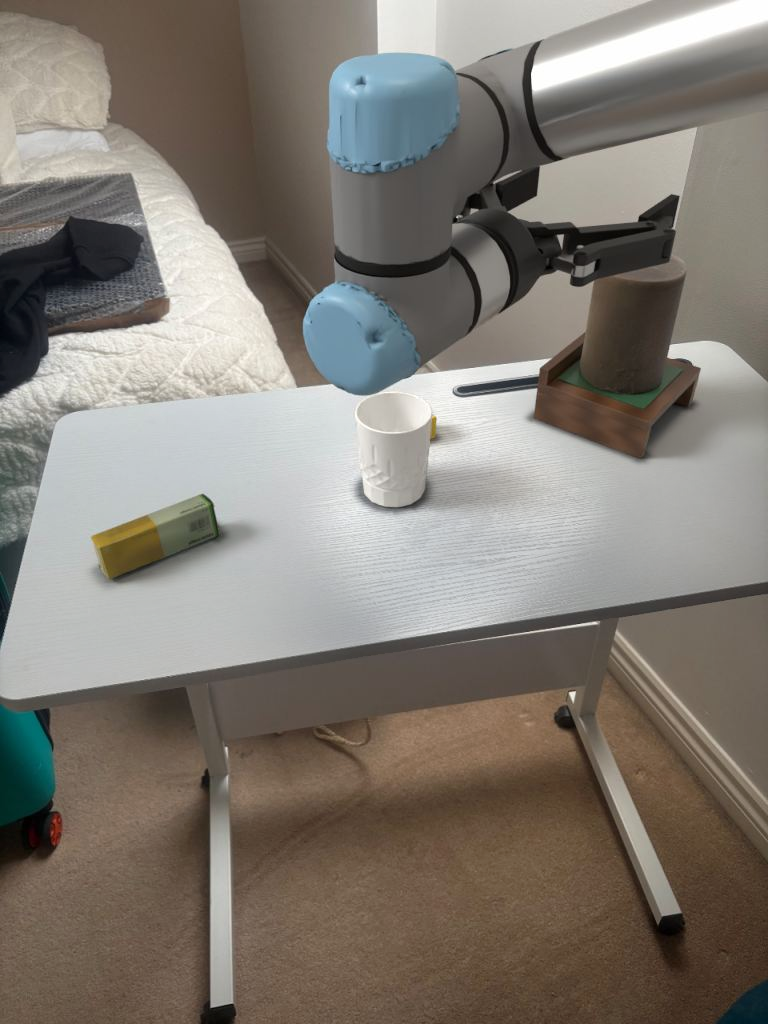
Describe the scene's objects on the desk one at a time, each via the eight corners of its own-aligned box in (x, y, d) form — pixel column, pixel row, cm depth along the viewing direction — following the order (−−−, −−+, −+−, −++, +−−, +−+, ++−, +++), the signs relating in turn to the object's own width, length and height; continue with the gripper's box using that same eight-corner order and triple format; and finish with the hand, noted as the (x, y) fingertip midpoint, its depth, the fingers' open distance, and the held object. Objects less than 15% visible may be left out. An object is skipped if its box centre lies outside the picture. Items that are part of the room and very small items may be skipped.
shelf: (692, 403, 104) (705, 353, 99) (640, 458, 95) (652, 406, 90) (590, 369, 110) (598, 320, 106) (533, 418, 101) (539, 367, 97)
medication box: (210, 523, 87) (204, 491, 84) (222, 535, 85) (215, 502, 82) (98, 567, 81) (88, 534, 79) (108, 581, 79) (98, 547, 77)
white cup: (417, 518, 87) (419, 439, 80) (347, 503, 89) (343, 425, 82) (438, 475, 93) (441, 398, 86) (371, 462, 95) (370, 386, 88)
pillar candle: (612, 402, 94) (637, 276, 85) (563, 364, 101) (580, 244, 92) (680, 383, 97) (711, 259, 88) (627, 347, 104) (651, 229, 95)
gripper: (346, 278, 71) (481, 207, 84) (615, 366, 59) (725, 268, 72) (342, 188, 66) (486, 128, 79) (635, 264, 54) (749, 178, 67)
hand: (600, 194), depth 75 cm, fingers open, 13 cm apart
